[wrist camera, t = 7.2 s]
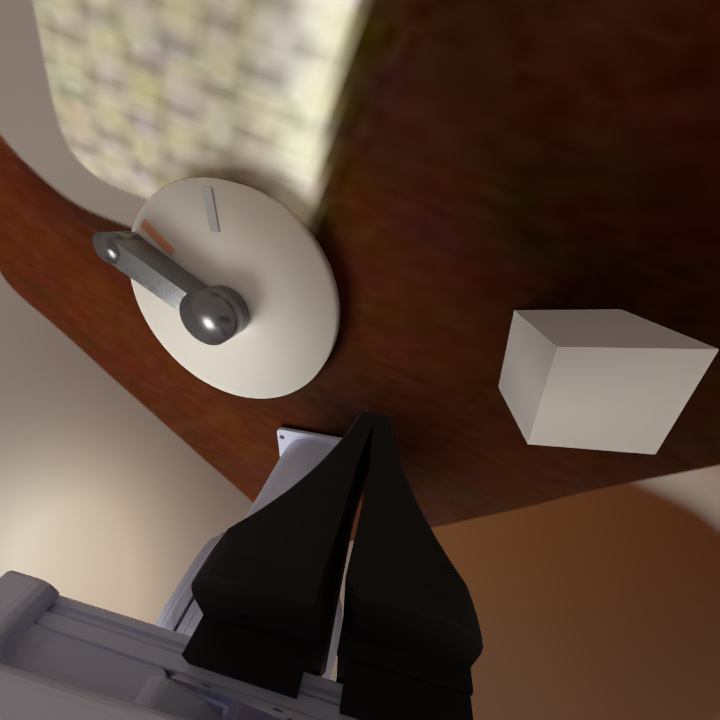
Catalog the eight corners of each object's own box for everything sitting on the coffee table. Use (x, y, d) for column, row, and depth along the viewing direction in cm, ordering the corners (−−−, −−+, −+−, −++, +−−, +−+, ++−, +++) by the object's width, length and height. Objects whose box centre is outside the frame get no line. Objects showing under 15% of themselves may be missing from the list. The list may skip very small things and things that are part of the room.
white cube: (513, 309, 17) (556, 346, 12) (620, 308, 16) (720, 348, 11) (497, 387, 20) (528, 444, 15) (588, 390, 19) (656, 455, 13)
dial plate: (338, 401, 23) (333, 412, 22) (178, 375, 25) (165, 384, 24) (343, 186, 16) (336, 182, 14) (115, 176, 18) (90, 172, 16)
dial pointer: (257, 307, 18) (238, 316, 16) (238, 342, 20) (219, 355, 18) (130, 212, 17) (94, 211, 15) (121, 259, 19) (88, 263, 17)
